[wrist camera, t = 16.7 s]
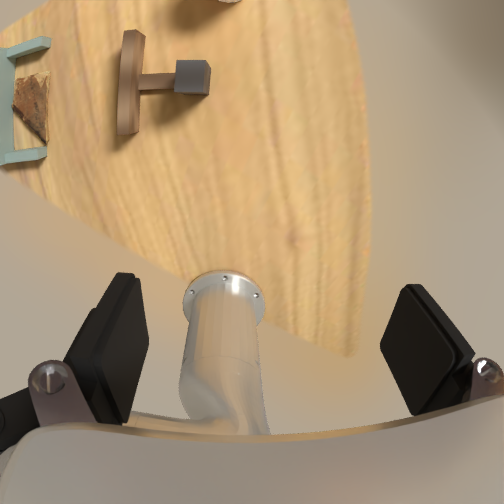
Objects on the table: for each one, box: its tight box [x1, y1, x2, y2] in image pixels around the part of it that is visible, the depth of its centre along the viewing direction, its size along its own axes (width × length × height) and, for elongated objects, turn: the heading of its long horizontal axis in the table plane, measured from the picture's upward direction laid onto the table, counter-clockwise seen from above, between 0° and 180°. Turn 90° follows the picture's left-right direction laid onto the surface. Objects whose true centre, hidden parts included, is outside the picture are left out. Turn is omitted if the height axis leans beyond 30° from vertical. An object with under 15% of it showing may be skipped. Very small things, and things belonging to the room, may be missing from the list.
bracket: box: [0, 36, 51, 166], centre depth 28 cm, size 18×8×6 cm, turn 175°
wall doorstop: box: [117, 29, 211, 135], centre depth 29 cm, size 13×10×6 cm
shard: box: [11, 71, 50, 144], centre depth 31 cm, size 11×8×2 cm
